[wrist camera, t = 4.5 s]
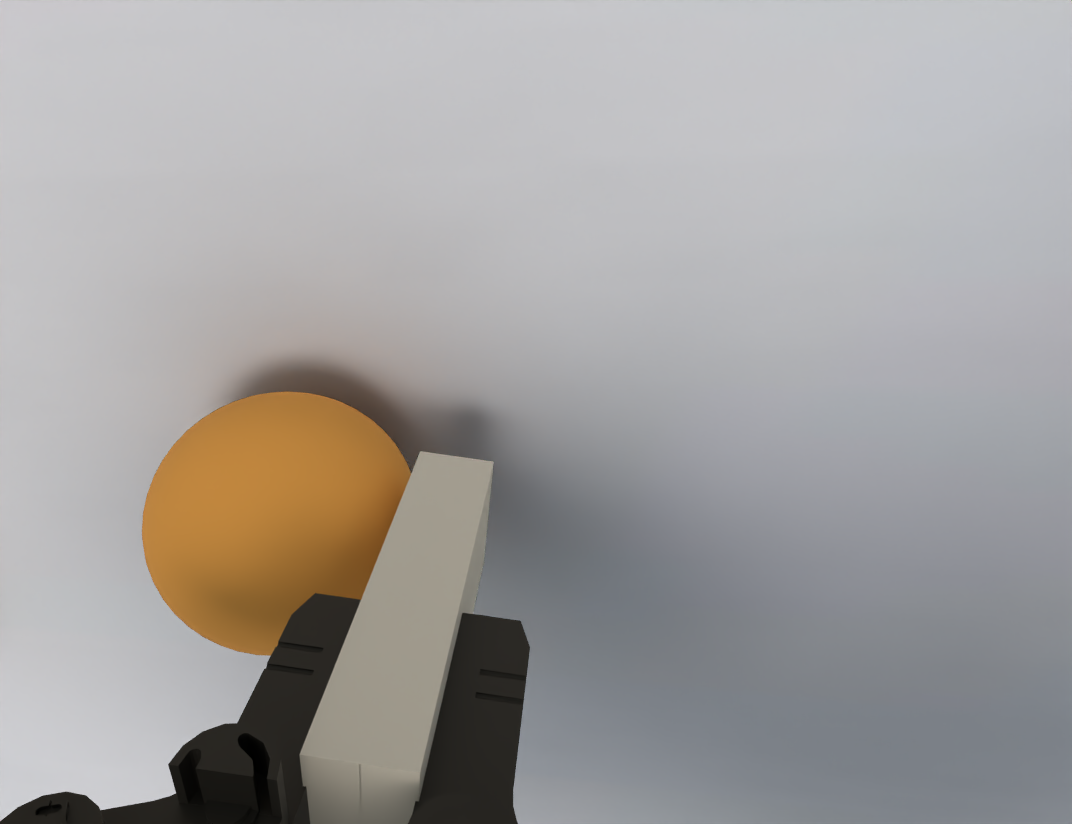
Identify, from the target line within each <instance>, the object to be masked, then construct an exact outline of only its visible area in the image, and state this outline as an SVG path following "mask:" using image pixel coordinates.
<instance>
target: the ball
mask: <svg viewBox="0 0 1072 824" xmlns="http://www.w3.org/2000/svg"><path fill="white" fill-rule="evenodd" d="M410 476H411V472H410V469H409V467H408V464H407V462H406V460H405V459H404V457H403V455H402V454H401V452H400V450H399V449H398V447H397V446H396V444H395V443H394V442H393V441H392V439H391V438H390V437H389V436H388V435H387V434H386V432H385V431H384V430H383V429H382V428H381V427H379V426H378V425H377V424H376V423H375V422H374V421H373V420H371V419H370V418H368V417H367V416H365V415H364V414H362V413H361V412H359V411H358V410H356V409H355V408H353V407H351V406H349V405H346V404H344V403H342V402H340V401H337V400H334V399H331V398H328V397H325V396H321V395H315V394H310V393H302V392H271V393H265V394H259V395H254V396H250V397H247V398H243V399H240V400H237V401H234V402H232V403H230V404H228V405H225V406H223V407H221V408H219V409H217V410H215V411H214V412H212V413H210V414H209V415H207V416H206V417H204V418H202V419H201V420H200V421H198V422H197V423H196V424H195V425H194V426H192V427H191V428H190V429H189V430H187V431H186V432H185V433H184V434H183V435H182V437H181V438H180V439H179V440H178V441H177V442H176V443H175V444H174V445H173V446H172V448H171V449H170V451H169V452H168V453H167V455H166V456H165V457H164V459H163V460H162V462H161V464H160V466H159V468H158V470H157V472H156V473H155V475H154V477H153V480H152V483H151V485H150V488H149V491H148V494H147V498H146V502H145V507H144V512H143V525H142V539H143V547H144V553H145V559H146V563H147V566H148V569H149V572H150V574H151V577H152V580H153V582H154V584H155V586H156V588H157V589H158V591H159V593H160V595H161V596H162V598H163V600H164V601H165V602H166V603H167V605H168V606H169V607H170V609H171V610H172V611H173V612H174V614H175V615H176V616H178V617H179V618H180V619H181V620H182V621H183V622H184V623H185V624H186V625H187V626H188V627H190V628H191V629H193V630H194V631H196V632H197V633H198V634H200V635H201V636H203V637H204V638H206V639H208V640H210V641H212V642H214V643H217V644H219V645H221V646H224V647H227V648H230V649H233V650H236V651H239V652H244V653H250V654H255V655H270V656H271V655H272V653H273V651H274V649H275V647H277V645H278V641H279V639H280V637H281V635H282V633H283V631H284V629H285V627H286V625H287V623H288V621H289V619H290V617H291V615H292V614H293V613H294V612H295V611H296V610H297V609H298V608H299V607H300V606H301V605H303V604H304V603H305V602H306V601H307V600H308V599H309V598H310V597H311V596H312V595H314V594H315V593H318V594H325V595H332V596H339V597H346V598H353V599H360V600H361V599H362V596H363V594H364V591H365V589H366V586H367V584H368V581H369V579H370V576H371V574H372V571H373V569H374V566H375V564H376V561H377V559H378V556H379V554H380V551H381V549H382V546H383V544H384V541H385V538H386V536H387V533H388V531H389V528H390V526H391V523H392V521H393V518H394V516H395V513H396V511H397V508H398V506H399V503H400V501H401V498H402V496H403V493H404V491H405V488H406V486H407V483H408V481H409V478H410Z"/></svg>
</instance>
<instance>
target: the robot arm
mask: <svg viewBox="0 0 1072 824" xmlns="http://www.w3.org/2000/svg"><path fill="white" fill-rule="evenodd" d="M493 465H494V462H493V461H486V460H479V459H472V458H465V457H457V456H450V455H443V454H436V453H429V452H422V451H420V453H419V456H418V458H417V461H416V463H415V466H414V468H413V471H412V473H411V476H410V478H409V481H408V483H407V486H406V488H405V491H404V493H403V496H402V498H401V501H400V503H399V506H398V508H397V511H396V513H395V516H394V518H393V521H392V523H391V526H390V528H389V531H388V533H387V536H386V538H385V541H384V544H383V546H382V549H381V551H380V554H379V556H378V559H377V561H376V564H375V566H374V569H373V571H372V574H371V576H370V579H369V581H368V584H367V586H366V589H365V591H364V594H363V596H362V599H361V600H360V599H353V598H346V597H339V596H332V595H325V594H318V593H315V594H314V595H312V596H311V597H310V598H309V599H308V600H307V601H306V602H305V603H304V604H303V605H301V606H300V607H299V608H298V609H297V610H296V611H295V612H294V613H293V614H292V615H291V617H290V619H289V621H288V623H287V625H286V627H285V629H284V631H283V633H282V635H281V637H280V639H279V641H278V645H277V647H275V649H274V651H273V653H272V655H271V657H270V659H269V661H268V663H267V667H266V669H264V671H263V673H262V675H261V677H260V679H259V681H258V683H257V685H256V687H255V689H254V691H253V693H252V695H251V697H250V699H249V701H248V703H247V705H246V707H245V709H244V711H243V713H242V715H241V717H240V719H239V721H238V723H235V724H223V725H220V726H217V727H215V728H212V729H209V730H206V731H203V732H202V733H200V734H199V735H197V736H196V737H195V738H193V739H192V740H190V741H189V742H188V743H186V744H185V745H183V746H182V748H181V749H180V750H179V751H178V753H177V754H176V755H175V757H174V758H173V759H172V760H171V762H170V763H169V764H168V765H169V769H170V772H171V776H172V779H173V783H174V787H175V790H176V794H174V795H172V796H169V797H166V798H162V799H158V800H155V801H151V802H145V803H139V804H134V805H128V806H123V807H117V808H111V809H106V810H100V809H99V807H98V806H97V805H96V804H95V803H94V802H93V801H92V800H90V799H89V798H88V797H87V796H85V795H80V794H75V793H70V792H62V793H56V794H50V795H44V796H41V797H39V798H37V799H35V800H33V801H31V802H28V803H26V804H24V805H22V806H20V807H18V808H17V809H15V810H14V811H13V812H12V813H10V814H9V815H8V816H7V817H5V818H4V819H3V820H2V821H0V824H518V823H517V820H516V816H515V812H514V808H513V786H514V778H515V769H516V761H517V752H518V744H519V735H520V727H521V718H522V710H523V701H524V693H525V684H526V676H527V667H528V659H529V650H530V646H529V644H528V641H527V638H526V635H525V632H524V629H523V626H522V624H521V621H517V620H510V619H503V618H496V617H490V616H483V615H476V614H473V612H474V607H475V602H476V598H477V593H478V588H479V583H480V579H481V574H482V569H483V565H484V558H485V548H486V537H487V527H488V517H489V506H490V496H491V485H492V475H493Z"/></svg>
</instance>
